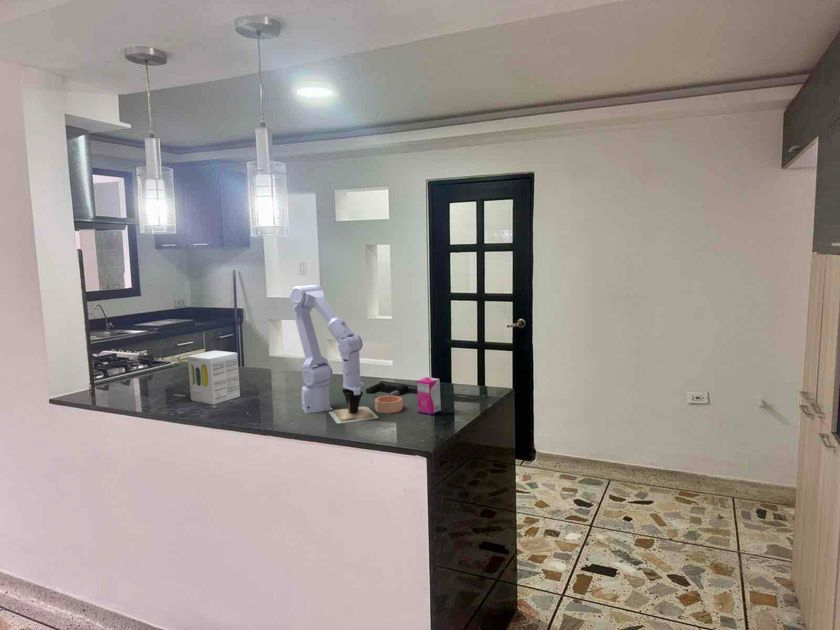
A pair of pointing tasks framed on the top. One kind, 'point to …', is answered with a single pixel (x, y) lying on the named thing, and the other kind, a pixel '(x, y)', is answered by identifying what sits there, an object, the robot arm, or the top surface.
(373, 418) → the mat
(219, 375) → the supplement box
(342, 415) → the lid
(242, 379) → the top surface
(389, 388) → the door handle
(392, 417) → the top surface
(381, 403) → the bowl
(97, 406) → the top surface
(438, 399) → the supplement box
